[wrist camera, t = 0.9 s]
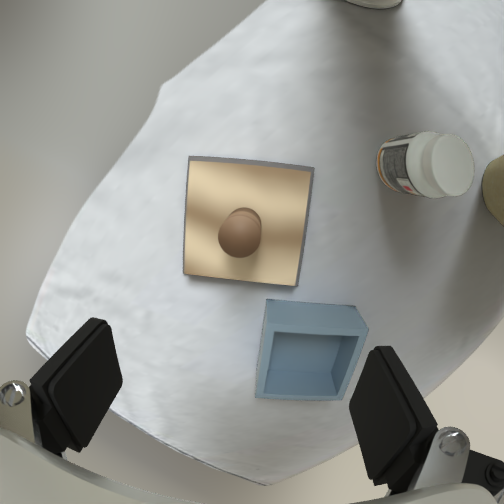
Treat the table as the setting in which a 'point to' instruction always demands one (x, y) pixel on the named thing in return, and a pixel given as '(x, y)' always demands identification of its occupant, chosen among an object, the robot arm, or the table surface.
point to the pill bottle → (426, 164)
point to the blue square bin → (308, 350)
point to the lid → (245, 221)
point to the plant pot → (494, 188)
